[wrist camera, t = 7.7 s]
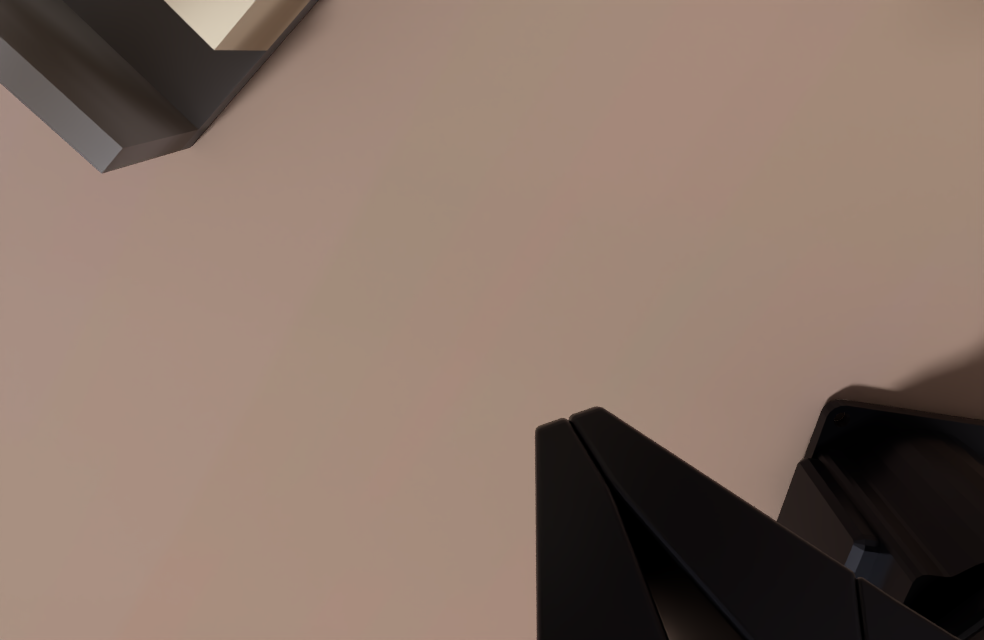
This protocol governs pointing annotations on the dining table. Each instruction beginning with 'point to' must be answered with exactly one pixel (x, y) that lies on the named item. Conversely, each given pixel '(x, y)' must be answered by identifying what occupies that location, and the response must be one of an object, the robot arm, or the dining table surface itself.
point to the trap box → (136, 67)
